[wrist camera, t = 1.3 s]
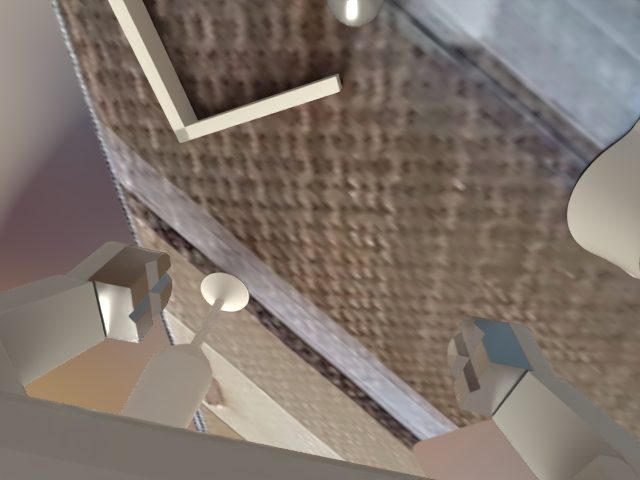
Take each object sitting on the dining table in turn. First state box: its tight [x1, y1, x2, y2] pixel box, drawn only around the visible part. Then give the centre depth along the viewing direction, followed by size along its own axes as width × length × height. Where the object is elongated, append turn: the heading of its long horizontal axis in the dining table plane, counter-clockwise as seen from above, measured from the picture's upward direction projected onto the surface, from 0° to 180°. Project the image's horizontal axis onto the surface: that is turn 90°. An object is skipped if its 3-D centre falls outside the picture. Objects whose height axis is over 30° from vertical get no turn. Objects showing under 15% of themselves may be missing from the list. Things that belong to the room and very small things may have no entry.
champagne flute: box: [120, 273, 249, 429], centre depth 36 cm, size 7×7×24 cm
